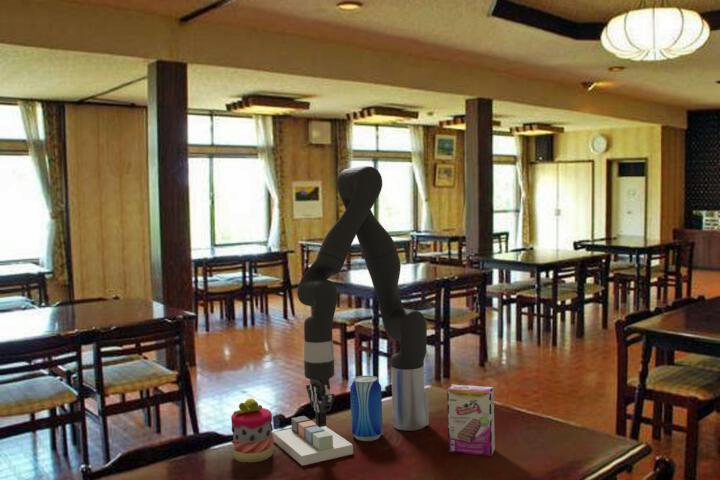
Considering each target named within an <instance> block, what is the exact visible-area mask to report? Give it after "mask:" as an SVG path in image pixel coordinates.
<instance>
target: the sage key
mask: <svg viewBox="0 0 720 480" xmlns="http://www.w3.org/2000/svg"><path fill="white" fill-rule="evenodd" d="M313 447H314V448H315V449H316V450H318V451H322V450H327V449H331V448H333V435H332V434H330V433H329V432H327V431H323V432H318V433H313Z"/></svg>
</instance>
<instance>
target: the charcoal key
mask: <svg viewBox="0 0 720 480" xmlns="http://www.w3.org/2000/svg"><path fill="white" fill-rule="evenodd" d="M306 421H311V419H310V418H309V417H307V416H305V415H302V416H301V415H300V416H297V417H291V429H292V431H293V432H294V433H296V434H299V431H298V423H301V422H306Z"/></svg>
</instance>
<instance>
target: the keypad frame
mask: <svg viewBox="0 0 720 480" xmlns="http://www.w3.org/2000/svg"><path fill="white" fill-rule="evenodd" d="M321 428H323V429H324V430H325V431H327V432H329V433H330V434H332V435H333V448H331V449H327V450H322V451H318V450H316V449H315V448H314V447H313V445H310V444H308V443H307V442H306V439H305V440H303V439H302V438H301V437H299V434H296V433H294V432H293V431H292V428H288V429H282V430H279V431H272V435H273V437H274V443H275V444H277V446H279V447H280V448H281V449H282V450H283V451H284V452H285V453H286V454H288V455H289V456H290V457H291V458H292V459H293V460H295V461H296V462H297V463H298V464H299V465H300V466H307V465H311V464H315V463H320V462H324V461H329V460H333V459H337V458H341V457H346V456H350V455H353V454H354V446H353V443H351V442H350V441H348V440H347V439H346V438H344V437H343V436H341V435H339V434H338V433H336V432H335V431H333V430H332V429H330V428H329V427H327V426H324V427H321Z"/></svg>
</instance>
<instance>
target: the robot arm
mask: <svg viewBox="0 0 720 480" xmlns="http://www.w3.org/2000/svg"><path fill="white" fill-rule="evenodd" d="M336 184H337V192H338V195H339V197H340V199H341V202H342V204H343V206H344V208H345V211H344V212H343V213H342V215H341V216H340V217H339V219H337V221H336V222H335V223H334V224H333V226H332V227H331V228H330V229H329V230H328V232H327V233H326V235H325V237H324V239H323V241H322V243H321V246H320V248H319V251H318V253H317V256H316V258H315V260H314V261H313V263H312V264H311V265H310V266H309V268H308V269H307V271H306V272H305V273H304V274H303V276H302V277H301V279H300V281H299V283H298V286H297V298H298V301H299V302H300V303H301V304H302V305H304V306H309V307H314V309H313V310H314V311H313V313H312V314H313V315H311V316H308V317H307V318H305V320H304V324H303V330H304V331H303V332H304V334H303V335H304V339H303V340H304V343H303V344H304V346H303V364H304V365H303V366H304V367H303V369H304V373H303V374H304V377H305V378H306V379H308V380H309V383H308V384H306V386H305V387H306V388H305V389H306V392H307V396H308V399H309V402H310V405H311V407H313V410H314V411H315V423H316V425H317V426H318V427H324V426H326V425H327V413H326V412H328V411H329V412H330V411H331V408H332V405H333V403H334V400H335V398H336V397H335V393H331V384H330V379H331V378H333V377H334V376H335V348H334V341H333V321H334V317H335V313H336V309H337V304H338V290H337V287H336V285H335V284H334V282H333V281H331V280H330V279H329V278H331V277H333V276H336V275H338V274H339V273H340V272H341V271H342V269H343V267H344V264H345V261H346V259H347V256H348V254H349V251H350V249H351V246H352V244H353V242H354V239H355V238H356V237H357V238H356V239H357V241H358V244H359V246H360V249H361V252H362V257H363V259H364V262H365V265H366V268H367V271H368V274H369V277H370V279H371V283H372V285H373V290H374V292H375V296H376V298H377V301H378V306H379V307H378V308H379V311H380V317H381V320H382V326H383V328H384V331H385V333H386V335H387V336H388V337H389V338H390V339H392V340H394V341H398V342H400V348H399V352H396V353H394V354H393V355H391V357H390V369H391V370H390V372H391V373H390V374H391V376H390V377H391V394H392V395H391V398H392V399H391V400H392V401H391V402H392V403H391V404H392V426H393V428H395V429H397V430H399V431H406V432H407V431H408V432H409V431H419V430H422V429H424V428H425V427H426V426H429V424H430V421H429V420H430V419H429V418H430V417H429V395H428V391H426V389H425V358H426V355H427V336H428V335H427V334H428V333H427V329H428V327H427V321H426V320H427V319H426V318H425V316H424V314H423V313H422V312H421V311H419V310H415V309H410V308H405V306H404V305H403V302H402V299H401V296H400V291H399V281H400V276H401V275H400V274H401V260H400V256H399V252H398V250H397V247H396V243H395V241H394V239H393V237H392V236H391V235H390V233H389V232H388V231H387V230H386V228H385V227H383V225H382V223H380V222H379V221H378V219H377V218H376V217H375V215H374V214H373V211H372V208H373V207H374V206H375V205H374V204H375V203H376V201H377V200H378V198H379V196H380V194H381V191H382V188H383V178H382V175H381V173H380V171H379V170H378V169H377V168H375V167H374V166H369V165H367V166H357V167H356V166H355V167H350V168H345V169H343V170H342V171H340V172H339V174H338V176H337V180H336ZM326 427H327V426H326Z"/></svg>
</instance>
